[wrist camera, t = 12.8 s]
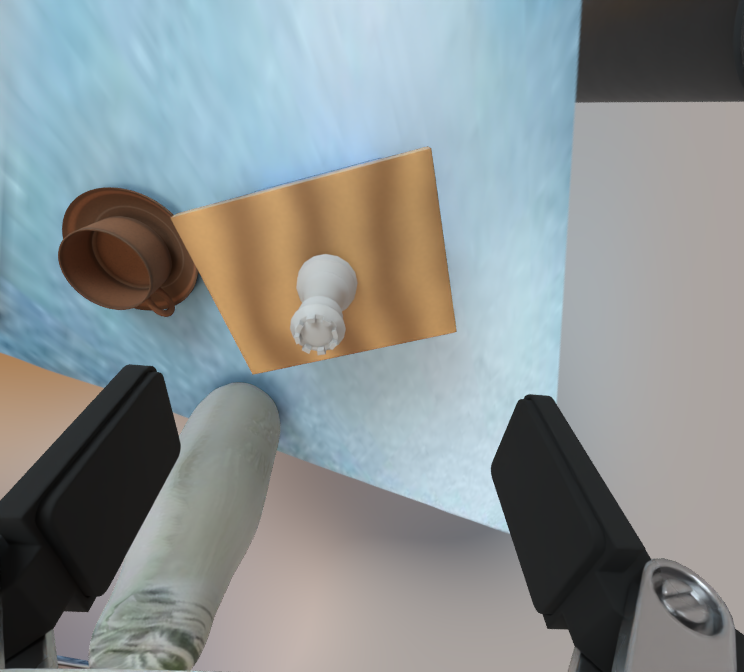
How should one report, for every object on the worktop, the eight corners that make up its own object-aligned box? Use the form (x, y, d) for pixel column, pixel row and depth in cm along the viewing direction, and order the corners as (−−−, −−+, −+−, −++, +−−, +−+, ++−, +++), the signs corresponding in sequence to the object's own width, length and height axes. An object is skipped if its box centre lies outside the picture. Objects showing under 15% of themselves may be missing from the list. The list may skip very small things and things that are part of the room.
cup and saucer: (226, 241, 36) (203, 264, 31) (173, 321, 41) (145, 353, 36) (103, 153, 32) (52, 163, 27) (58, 254, 37) (8, 279, 32)
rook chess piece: (330, 316, 29) (319, 380, 23) (285, 280, 28) (260, 337, 21) (370, 280, 28) (371, 337, 21) (325, 239, 26) (312, 286, 19)
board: (428, 146, 24) (431, 147, 23) (453, 324, 31) (456, 332, 30) (177, 213, 26) (169, 217, 25) (256, 366, 33) (252, 374, 32)
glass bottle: (300, 414, 49) (241, 706, 25) (233, 434, 51) (119, 724, 27) (263, 357, 44) (145, 655, 20) (190, 382, 46) (3, 682, 22)
